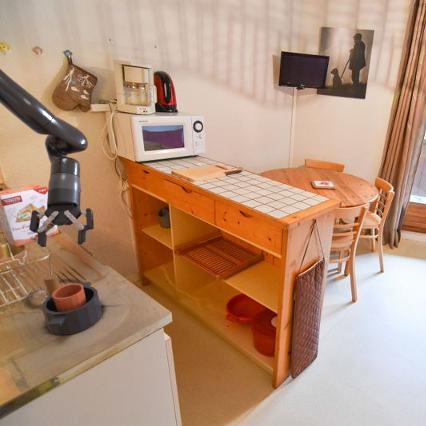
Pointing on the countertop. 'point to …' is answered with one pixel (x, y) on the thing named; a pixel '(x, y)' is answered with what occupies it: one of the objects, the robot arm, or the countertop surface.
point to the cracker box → (23, 212)
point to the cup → (69, 297)
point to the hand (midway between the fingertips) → (62, 245)
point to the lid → (51, 283)
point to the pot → (73, 314)
